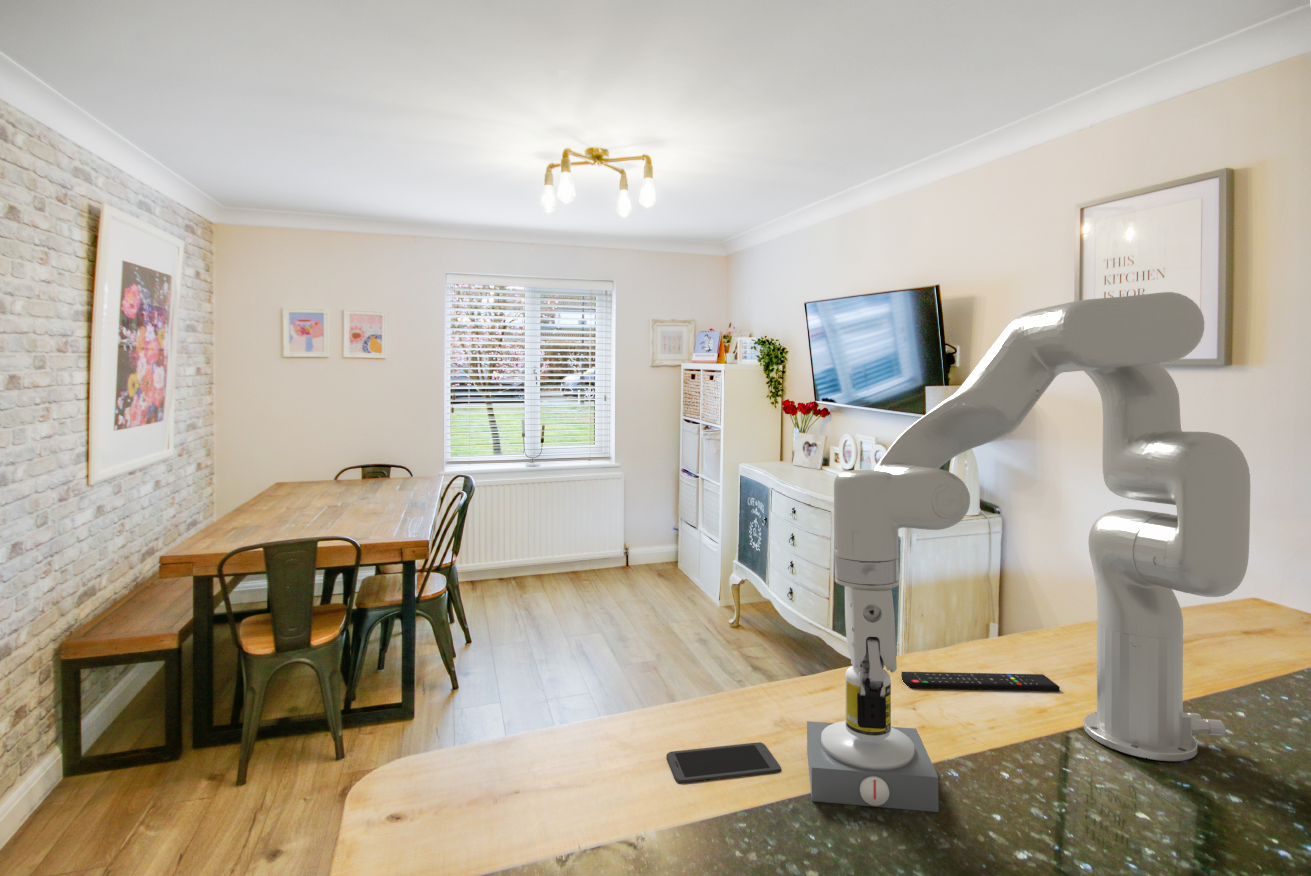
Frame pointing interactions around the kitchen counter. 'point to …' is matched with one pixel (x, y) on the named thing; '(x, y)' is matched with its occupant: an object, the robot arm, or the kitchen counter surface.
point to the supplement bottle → (851, 705)
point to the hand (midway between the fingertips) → (867, 713)
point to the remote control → (979, 681)
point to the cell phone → (721, 762)
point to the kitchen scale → (870, 768)
